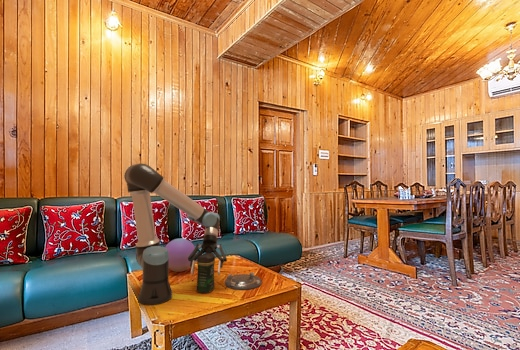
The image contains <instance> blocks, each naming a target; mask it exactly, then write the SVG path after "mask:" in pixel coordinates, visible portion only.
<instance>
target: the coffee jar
mask: <svg viewBox="0 0 520 350" xmlns="http://www.w3.org/2000/svg"><path fill="white" fill-rule="evenodd" d="M196 262H197V276H196V277H197V279H196V292H198V293H201V294H207V293H210V292H212V291H213V290H214V289H215V287H216V286H215V285H216V283H215V264H216V255H215V254H214V253H204V254H202V255H201V256H199V257H198V259H197V260H196Z"/></svg>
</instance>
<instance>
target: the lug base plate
mask: <svg viewBox="0 0 520 350" xmlns="http://www.w3.org/2000/svg"><path fill="white" fill-rule="evenodd" d="M232 274H233V273H229V274H227V277H226V278H225V280H224V286H225V287H226V288H229V289H231V290H236V291H248V290H255V289H257V288H259V287H260V286H261V285H262V279H261V278H260V277H259V276H257V275H255V272H249V273H247V274H245V273H244V274H243V273H242V274H241V273H239V274H233V275H232Z"/></svg>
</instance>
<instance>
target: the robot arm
mask: <svg viewBox="0 0 520 350" xmlns="http://www.w3.org/2000/svg"><path fill="white" fill-rule="evenodd" d="M123 178H124V181H125V183H126V187H127V193H129V194H130V195H131V198H132V206H133V207H132V208H133V213H134V220H135V226H136V228H135V229H136V234H137V235H136V236H137V242H136V244H135V251H136V253H135V260H136V263H137V264H138V265H139V266H140V267H141V269H142V285H141V287H140V291H139V293H138V299H137V300H138V303H140V304H142V305H146V306H152V305H153V306H154V305H160V304H163V303H165V302H168V301H169V300H171V299H172V298H173V290H172V287H171V284H170V282H169V275H170V274H169V270H170V269H169V252H168V249H167V248H165V247H166V246H161V242H160V239H159V238H157V235H156V230H155V229H156V228H155V221H154V213H153V206H152V197H151V194H156V195H157V196H159V197H160V198H162V199H164V201H166V202H168V203H169V204H170V205H172V206H174V207H175V208H177V209H178V210H180V211H181V212H183V213H184V214H186V218H187V219H188V220H189V221H191V222H193V223H196V224H198V225H200V226H202V227H204V235H203V240H202V244H199V243H196V245H195V249H194V250H193V252H192V253H191V254H190V256H189V257H188V261H191V263H190V274H191V275H194V271H195V267H196V262H195V261H197V259H198V257H199V256H201V255H203V254H205V253H213V254H214V255H215V257H217V259H218V260H219V261H218V267H217V275H218V276H220V275H221V269H222V268H223V267H224V263H225V262H227V261H228V258H227V257H226V253H225V251H224V250H223V245H222V243H220V244H218V235H219V229H220V218H221V217H220V214H219V213H217V212H211V211H209V210H208V209H206V208H204V207H203V206H202V205H201V204H200V203H197V202H196V201H195V200H193V199H192V198H190V197H189V196H188V195H186V194H184V192H182V191H180V189H178V188H176V187H175V186H173V185H172V184H171V183H170V182H168V181H166V180H165V177H164V175H162V174H160V173H159V172H158V171H157V170H155V169H154V168H153V167H151V165H148V164H146V163H135V164H132V165H130V166H128V167H127V169H126V170H125V172H124V177H123ZM217 249H218V250H219V251H220V254H219V252H218V251H217ZM195 254H196V255H195Z"/></svg>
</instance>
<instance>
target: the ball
mask: <svg viewBox="0 0 520 350" xmlns="http://www.w3.org/2000/svg"><path fill="white" fill-rule="evenodd" d="M164 247H165V248H167V249H168V252H169V270H170V271H172V272H175V273H180V272H184V271H186V270H188V269H191V267H190V263H191V261H188V257H189V256H190V254H191V253H192V252H193V250H194V249H195V248H196V246H195V245H194V243H192V241H190V240H188V239H187V238H183V237H181V238H178V237H177V238H174V239H172V240H171V241H169V242H168V243H167V244H166V245H165V246H164ZM196 254H197V253H196ZM196 254H195V255H196Z"/></svg>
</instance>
